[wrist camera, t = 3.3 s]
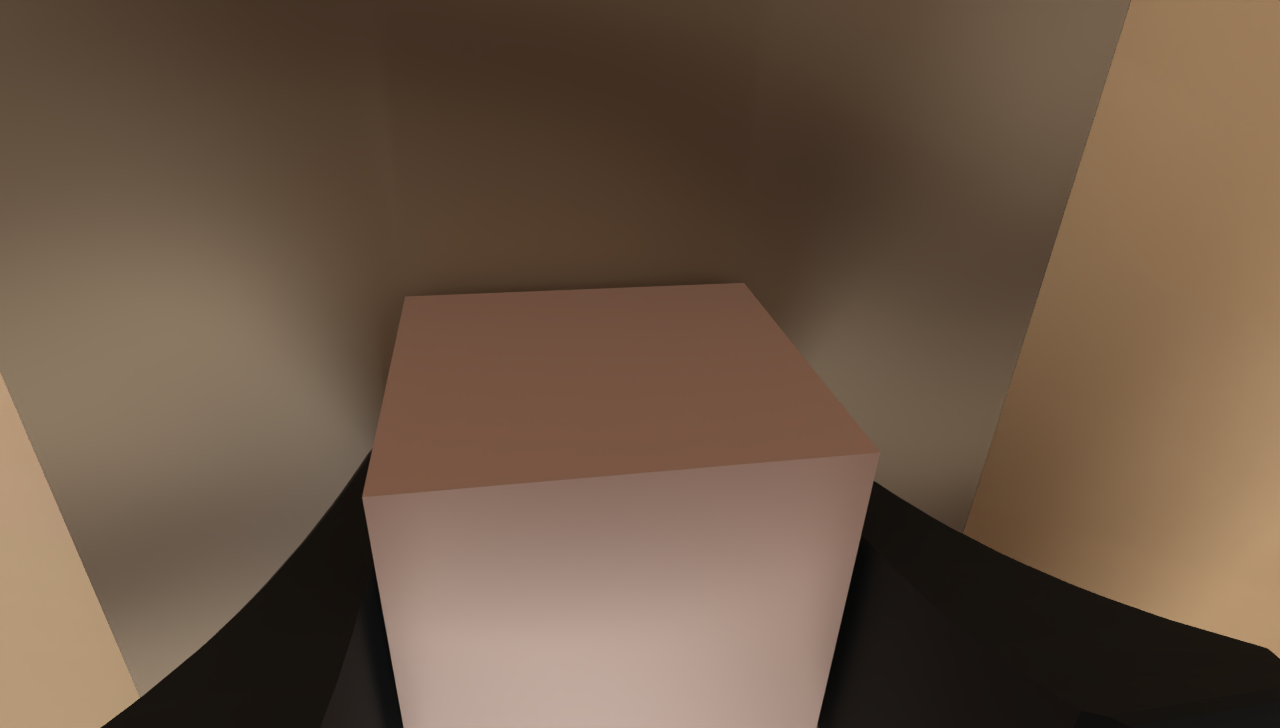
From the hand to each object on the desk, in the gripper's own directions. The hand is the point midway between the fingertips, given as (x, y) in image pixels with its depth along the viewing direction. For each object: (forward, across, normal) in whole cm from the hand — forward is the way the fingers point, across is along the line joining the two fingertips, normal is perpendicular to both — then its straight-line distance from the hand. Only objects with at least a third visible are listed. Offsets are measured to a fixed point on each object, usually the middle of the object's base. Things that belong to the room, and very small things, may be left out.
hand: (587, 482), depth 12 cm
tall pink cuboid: (+1, 0, 0) cm, 1 cm away
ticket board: (+2, 0, +2) cm, 3 cm away
